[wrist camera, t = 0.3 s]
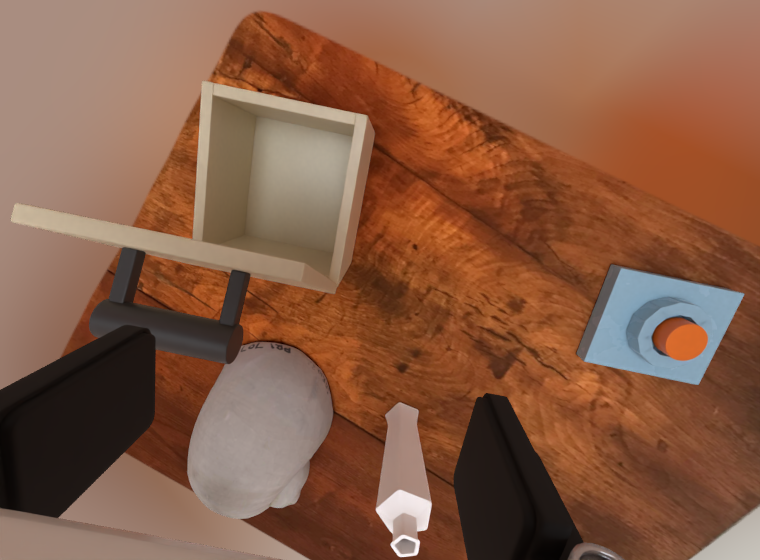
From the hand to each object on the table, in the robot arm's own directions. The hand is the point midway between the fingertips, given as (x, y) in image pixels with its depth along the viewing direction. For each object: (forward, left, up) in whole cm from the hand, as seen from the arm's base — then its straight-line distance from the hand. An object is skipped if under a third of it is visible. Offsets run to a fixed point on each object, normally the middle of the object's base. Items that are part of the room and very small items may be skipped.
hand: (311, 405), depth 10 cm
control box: (+2, +29, -27) cm, 40 cm away
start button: (+2, +29, -23) cm, 38 cm away
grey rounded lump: (+21, -8, -27) cm, 35 cm away
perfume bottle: (+19, +7, -27) cm, 34 cm away
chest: (-4, -8, -27) cm, 28 cm away
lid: (-1, -8, -11) cm, 13 cm away
